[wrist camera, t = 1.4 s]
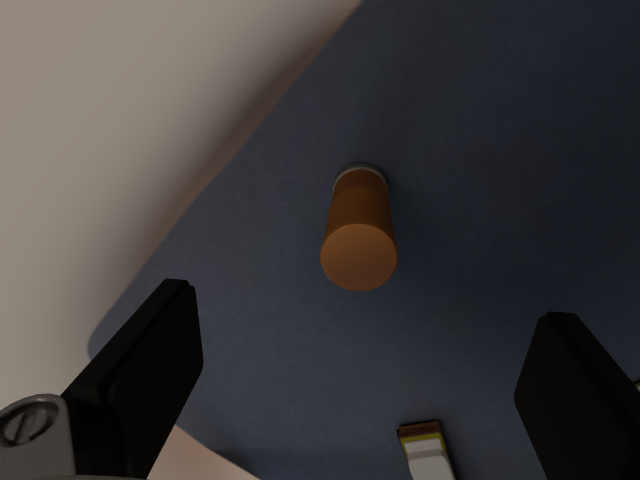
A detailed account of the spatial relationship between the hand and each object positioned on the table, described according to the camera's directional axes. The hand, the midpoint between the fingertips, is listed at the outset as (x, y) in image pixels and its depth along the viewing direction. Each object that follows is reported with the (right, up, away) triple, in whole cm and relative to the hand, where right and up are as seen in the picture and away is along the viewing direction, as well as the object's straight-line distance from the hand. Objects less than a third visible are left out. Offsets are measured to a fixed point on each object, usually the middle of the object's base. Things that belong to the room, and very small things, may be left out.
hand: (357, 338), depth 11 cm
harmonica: (+9, -17, +21) cm, 28 cm away
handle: (+1, +5, +10) cm, 12 cm away
